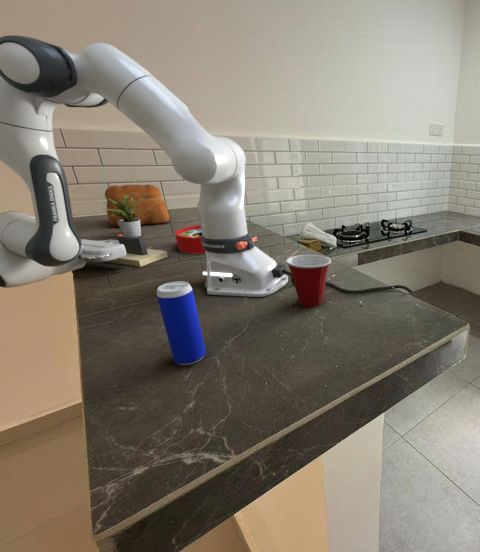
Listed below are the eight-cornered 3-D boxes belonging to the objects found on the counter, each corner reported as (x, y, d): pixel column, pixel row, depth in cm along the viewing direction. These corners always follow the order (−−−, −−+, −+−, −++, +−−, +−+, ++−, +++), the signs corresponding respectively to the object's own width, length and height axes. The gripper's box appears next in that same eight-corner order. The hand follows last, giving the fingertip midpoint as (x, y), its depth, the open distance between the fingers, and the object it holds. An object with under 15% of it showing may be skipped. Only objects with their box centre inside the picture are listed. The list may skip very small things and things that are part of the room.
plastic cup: (339, 296, 88) (338, 255, 84) (319, 314, 79) (317, 269, 74) (304, 290, 91) (301, 249, 86) (281, 307, 81) (276, 262, 77)
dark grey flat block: (147, 253, 106) (143, 236, 103) (143, 255, 104) (138, 238, 102) (125, 250, 107) (120, 234, 105) (120, 252, 106) (115, 235, 104)
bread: (171, 224, 148) (163, 186, 141) (110, 229, 135) (97, 188, 129) (168, 216, 160) (160, 181, 154) (111, 221, 148) (100, 183, 142)
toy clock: (160, 235, 112) (199, 222, 130) (164, 251, 114) (202, 236, 133) (215, 239, 111) (246, 226, 129) (218, 256, 113) (248, 240, 131)
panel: (172, 255, 111) (170, 249, 110) (135, 268, 99) (133, 261, 98) (137, 250, 114) (136, 245, 113) (98, 263, 102) (96, 256, 101)
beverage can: (211, 350, 64) (197, 280, 58) (197, 367, 59) (180, 293, 53) (184, 349, 64) (167, 279, 58) (168, 366, 59) (147, 292, 53)
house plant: (111, 232, 132) (99, 191, 126) (153, 229, 139) (143, 190, 133) (106, 241, 121) (92, 197, 115) (152, 237, 128) (141, 195, 122)
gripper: (92, 248, 87) (140, 235, 100) (33, 241, 91) (87, 229, 104) (99, 270, 90) (145, 255, 102) (42, 262, 93) (93, 248, 106)
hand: (115, 242), depth 103 cm, fingers closed
